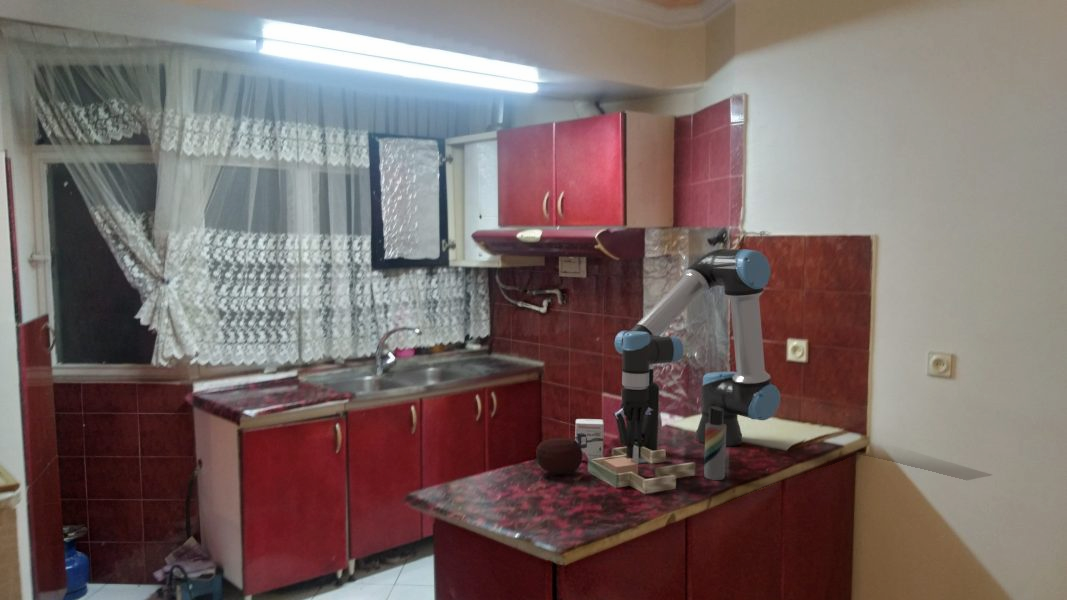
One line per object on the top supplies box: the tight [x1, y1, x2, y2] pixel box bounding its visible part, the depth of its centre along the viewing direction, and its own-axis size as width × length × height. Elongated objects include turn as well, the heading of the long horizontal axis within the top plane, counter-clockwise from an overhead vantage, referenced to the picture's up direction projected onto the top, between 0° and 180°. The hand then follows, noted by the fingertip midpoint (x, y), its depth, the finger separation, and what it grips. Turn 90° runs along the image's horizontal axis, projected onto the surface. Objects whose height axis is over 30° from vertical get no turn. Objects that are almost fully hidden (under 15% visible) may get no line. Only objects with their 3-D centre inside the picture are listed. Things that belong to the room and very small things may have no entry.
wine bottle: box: [642, 364, 660, 451], centre depth 225 cm, size 6×6×30 cm
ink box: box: [574, 418, 605, 462], centre depth 218 cm, size 8×5×12 cm, turn 86°
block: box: [603, 457, 639, 475], centre depth 202 cm, size 7×7×4 cm
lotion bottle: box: [703, 406, 727, 481], centre depth 202 cm, size 6×6×20 cm
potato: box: [535, 437, 583, 476], centre depth 203 cm, size 11×13×10 cm
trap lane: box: [587, 446, 696, 495], centre depth 205 cm, size 26×29×4 cm
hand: (633, 468), depth 204 cm, fingers closed
